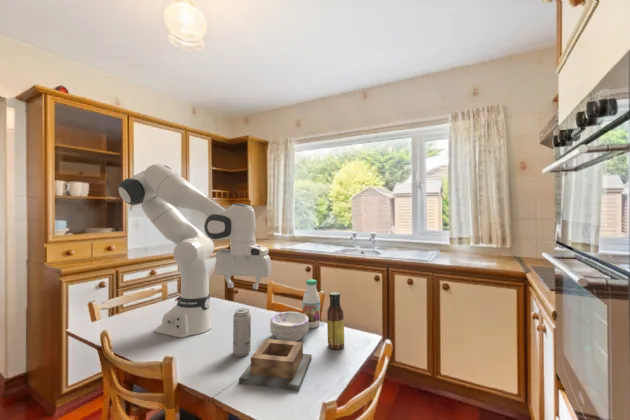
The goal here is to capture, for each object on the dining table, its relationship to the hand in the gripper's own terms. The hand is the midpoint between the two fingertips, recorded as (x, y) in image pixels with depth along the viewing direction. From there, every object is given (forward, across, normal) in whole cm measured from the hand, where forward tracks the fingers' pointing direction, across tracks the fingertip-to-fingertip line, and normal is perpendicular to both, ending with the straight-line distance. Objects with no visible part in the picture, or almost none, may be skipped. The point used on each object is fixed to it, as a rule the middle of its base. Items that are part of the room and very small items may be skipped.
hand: (243, 288), depth 102 cm
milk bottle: (+23, +19, +30) cm, 42 cm away
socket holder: (+23, +16, -8) cm, 29 cm away
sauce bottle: (+24, +32, +12) cm, 41 cm away
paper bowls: (+23, +13, +16) cm, 31 cm away
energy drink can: (+23, 0, 0) cm, 23 cm away
